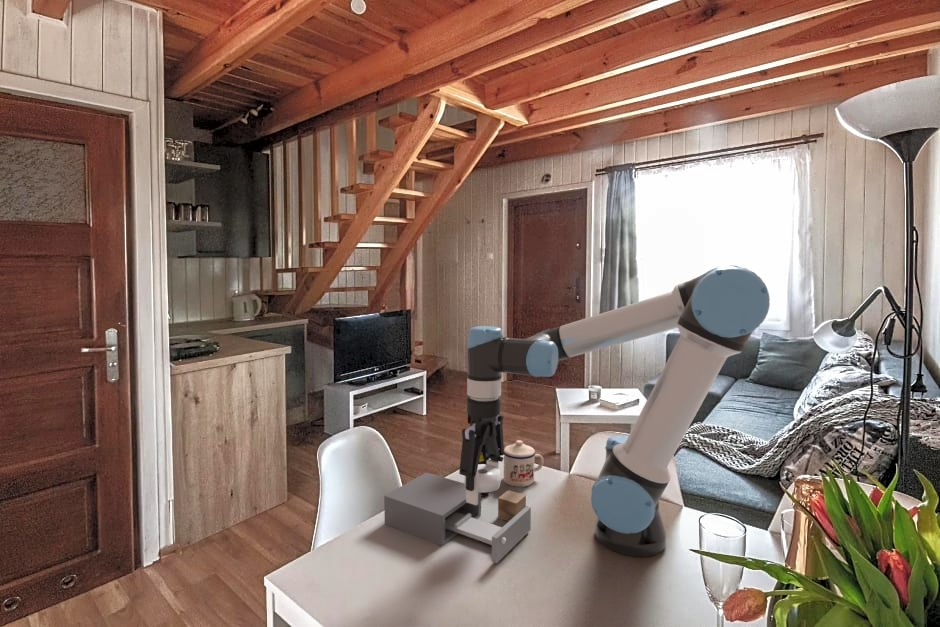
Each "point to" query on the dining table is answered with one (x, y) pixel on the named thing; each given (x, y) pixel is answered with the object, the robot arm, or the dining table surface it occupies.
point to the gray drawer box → (428, 507)
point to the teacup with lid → (520, 464)
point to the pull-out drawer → (492, 531)
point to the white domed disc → (487, 478)
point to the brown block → (510, 504)
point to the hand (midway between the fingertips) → (482, 495)
